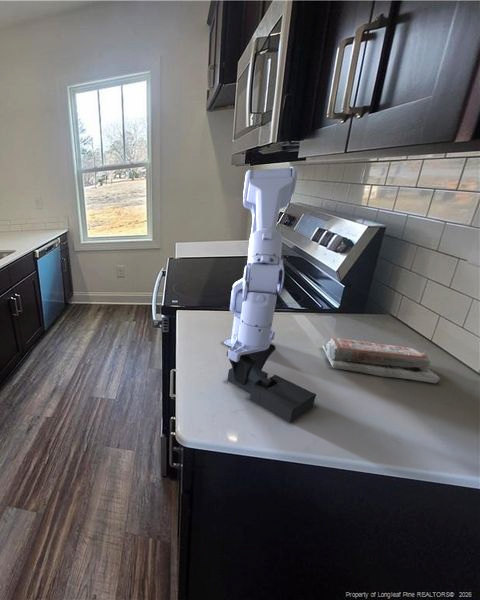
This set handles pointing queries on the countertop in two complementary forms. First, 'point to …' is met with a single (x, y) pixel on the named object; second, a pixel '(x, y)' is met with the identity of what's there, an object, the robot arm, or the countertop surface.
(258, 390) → the black pad
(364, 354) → the packaged product
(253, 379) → the graphite pad
